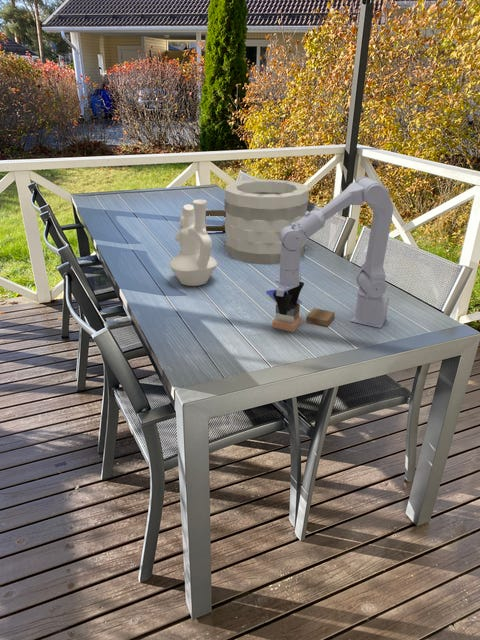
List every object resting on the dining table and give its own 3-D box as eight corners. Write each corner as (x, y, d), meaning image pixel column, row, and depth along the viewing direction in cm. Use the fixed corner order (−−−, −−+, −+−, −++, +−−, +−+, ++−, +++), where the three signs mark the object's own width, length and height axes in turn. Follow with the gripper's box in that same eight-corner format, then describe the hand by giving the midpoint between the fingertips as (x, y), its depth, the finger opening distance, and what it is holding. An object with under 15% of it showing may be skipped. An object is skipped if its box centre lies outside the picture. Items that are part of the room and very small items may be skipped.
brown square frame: (174, 233, 242) (174, 224, 240) (190, 216, 269) (190, 208, 267) (237, 236, 237) (237, 227, 235) (247, 219, 264) (247, 210, 262)
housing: (298, 318, 155) (299, 303, 152) (293, 324, 151) (294, 309, 149) (281, 314, 157) (281, 299, 155) (275, 319, 154) (275, 305, 151)
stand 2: (334, 317, 159) (334, 312, 159) (327, 326, 154) (327, 321, 153) (313, 313, 162) (313, 307, 161) (305, 322, 157) (306, 316, 156)
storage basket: (286, 235, 238) (288, 177, 226) (319, 259, 208) (324, 193, 196) (215, 243, 228) (214, 182, 216) (239, 269, 199) (239, 200, 186)
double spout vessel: (209, 270, 197) (207, 188, 182) (227, 291, 178) (226, 202, 164) (165, 276, 191) (159, 192, 177) (179, 298, 173) (173, 206, 158)
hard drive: (302, 301, 168) (287, 287, 179) (279, 304, 166) (266, 290, 177) (301, 305, 169) (287, 291, 180) (279, 308, 167) (266, 294, 177)
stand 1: (301, 322, 156) (302, 317, 156) (293, 332, 151) (293, 326, 150) (281, 318, 159) (281, 312, 158) (272, 327, 154) (272, 321, 153)
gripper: (286, 258, 154) (285, 298, 160) (267, 273, 142) (266, 316, 149) (308, 261, 151) (305, 302, 157) (290, 277, 140) (288, 320, 146)
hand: (288, 309), depth 153 cm, fingers open, 7 cm apart
